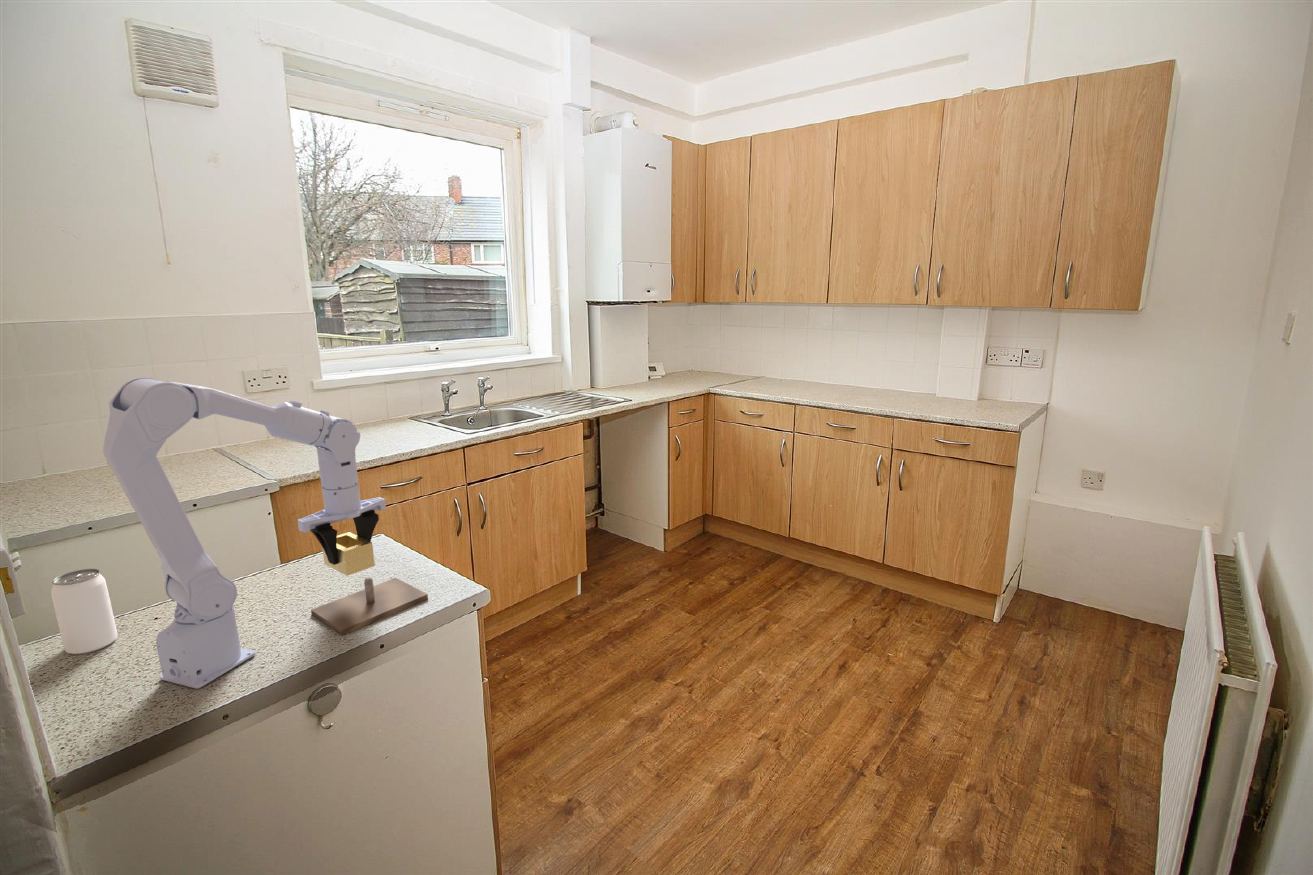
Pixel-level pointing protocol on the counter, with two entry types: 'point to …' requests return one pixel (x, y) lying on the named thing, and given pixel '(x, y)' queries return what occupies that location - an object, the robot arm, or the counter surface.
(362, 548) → the link
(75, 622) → the can
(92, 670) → the counter surface
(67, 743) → the counter surface
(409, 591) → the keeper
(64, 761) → the counter surface
